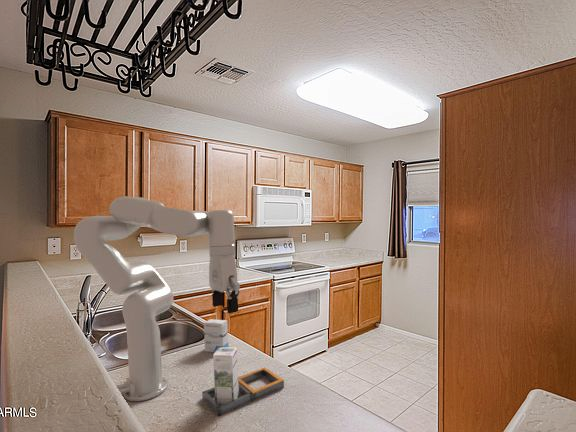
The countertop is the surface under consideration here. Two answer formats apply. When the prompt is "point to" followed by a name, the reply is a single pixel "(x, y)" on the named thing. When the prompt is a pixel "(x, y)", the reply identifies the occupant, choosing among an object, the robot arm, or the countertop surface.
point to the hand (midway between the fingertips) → (225, 308)
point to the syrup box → (225, 375)
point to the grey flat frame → (245, 391)
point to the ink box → (215, 334)
